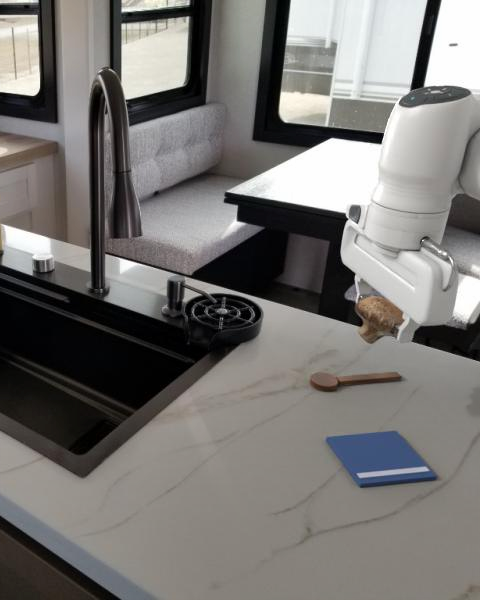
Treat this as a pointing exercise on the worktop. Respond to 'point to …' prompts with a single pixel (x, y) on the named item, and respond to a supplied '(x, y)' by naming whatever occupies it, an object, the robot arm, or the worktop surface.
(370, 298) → the mushroom
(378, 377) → the spoon
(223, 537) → the worktop surface
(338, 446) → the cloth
